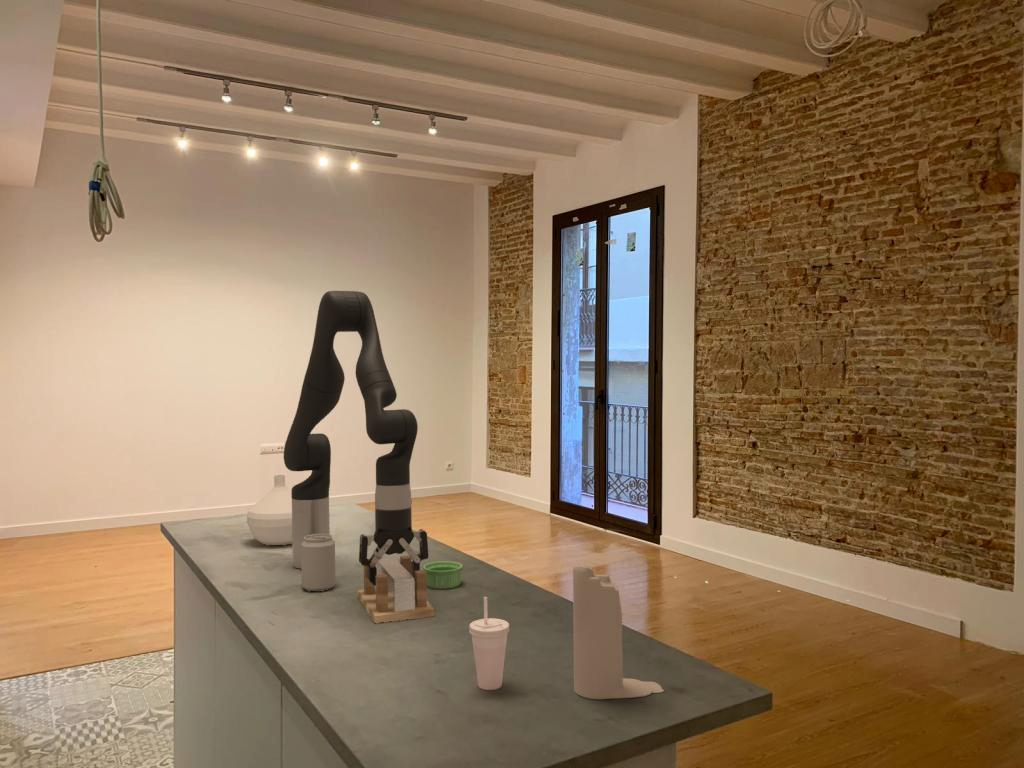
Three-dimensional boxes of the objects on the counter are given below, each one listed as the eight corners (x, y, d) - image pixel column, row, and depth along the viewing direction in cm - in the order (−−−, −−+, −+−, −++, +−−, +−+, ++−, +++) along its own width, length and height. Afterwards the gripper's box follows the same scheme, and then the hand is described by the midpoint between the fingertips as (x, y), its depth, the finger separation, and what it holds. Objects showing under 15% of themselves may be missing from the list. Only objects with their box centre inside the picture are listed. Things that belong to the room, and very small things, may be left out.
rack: (357, 597, 174) (357, 558, 173) (411, 590, 178) (411, 553, 178) (375, 623, 156) (374, 580, 156) (434, 616, 160) (433, 574, 160)
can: (327, 593, 177) (326, 540, 176) (296, 592, 178) (295, 538, 178) (341, 584, 184) (340, 532, 184) (311, 582, 185) (310, 531, 185)
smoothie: (469, 677, 129) (468, 592, 128) (508, 676, 129) (507, 590, 129) (470, 694, 122) (469, 604, 122) (512, 692, 123) (511, 602, 123)
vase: (327, 539, 231) (326, 473, 230) (277, 552, 215) (276, 482, 215) (283, 532, 241) (282, 469, 240) (233, 544, 225) (231, 477, 225)
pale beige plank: (376, 588, 175) (376, 559, 175) (394, 586, 176) (394, 557, 176) (394, 612, 158) (394, 580, 158) (414, 610, 159) (414, 578, 159)
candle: (668, 696, 121) (667, 566, 120) (578, 700, 120) (577, 568, 119) (656, 678, 128) (655, 554, 127) (570, 681, 127) (569, 557, 126)
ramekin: (470, 584, 183) (470, 565, 183) (441, 592, 177) (441, 573, 177) (444, 577, 190) (444, 559, 189) (415, 585, 183) (415, 566, 183)
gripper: (421, 499, 172) (422, 574, 173) (355, 504, 167) (357, 581, 168) (431, 505, 165) (432, 583, 166) (362, 510, 160) (363, 590, 161)
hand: (394, 582), depth 167 cm, fingers open, 8 cm apart
